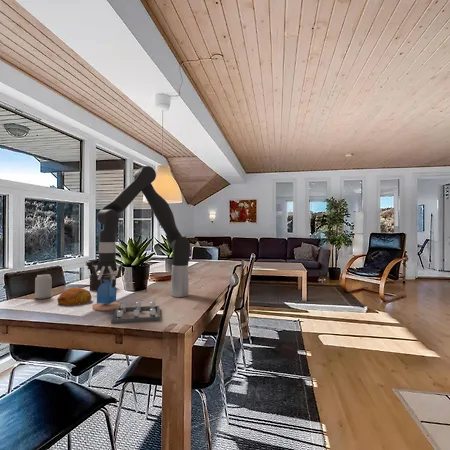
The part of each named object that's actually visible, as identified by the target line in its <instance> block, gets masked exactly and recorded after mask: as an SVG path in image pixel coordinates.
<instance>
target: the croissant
mask: <svg viewBox="0 0 450 450" xmlns="http://www.w3.org/2000/svg"><path fill="white" fill-rule="evenodd" d="M56 300H57V303H58V304H59V305H62V306H63V305H64V306H79V305H82V304H86V303H89V302H90V301H92V294H91V292H90V290H87V289H85V288H82V287H71V288H70V287H69V288H67V289H66V290H64V291H63V292H62V293H60V294H59V296H58V297H57V299H56Z"/></svg>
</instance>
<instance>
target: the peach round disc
mask: <svg viewBox="0 0 450 450" xmlns="http://www.w3.org/2000/svg"><path fill="white" fill-rule="evenodd" d="M117 307H120V302H118V301H115V302H112V303H110V304H102V303H97V302H95V303H94V304H92V310H94V311H99V312H101V311H102V312H105V311H113V310H114V311H115V310H116V308H117Z"/></svg>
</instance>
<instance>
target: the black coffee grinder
mask: <svg viewBox="0 0 450 450" xmlns="http://www.w3.org/2000/svg"><path fill="white" fill-rule="evenodd" d="M85 264H86V265H85V266H87V270H91V271H92V268H91V267H92V266H94V262H93V261H92V260H88V261H86V263H85ZM96 273H97V276H99V274H100V269H99V268H98V267H97V270H96ZM104 276H111V277H110V279H111V281H110V283H112V282H113V278H112V275H111V273H103V275H102V277H101V279H102V284H103V283H104V282H103V279H104ZM98 288H99V287H98V280H97V279H94V278H93V273H92V274H90V275H89V291H91V292H92V291H93V292H97V289H98Z"/></svg>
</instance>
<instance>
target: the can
mask: <svg viewBox="0 0 450 450" xmlns="http://www.w3.org/2000/svg"><path fill="white" fill-rule="evenodd" d="M52 281H53V280H52V276H51V274H48V273H47V274H37V275H36V277H35V280H34V298H35V299H37V300H43V299H44V300H45V299H49V298H51V296H52V288H53V287H52V283H53V282H52Z"/></svg>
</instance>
